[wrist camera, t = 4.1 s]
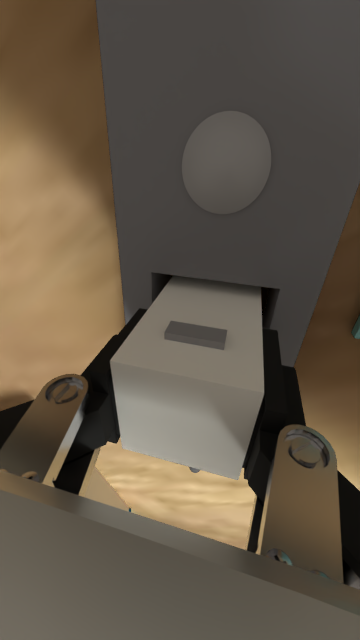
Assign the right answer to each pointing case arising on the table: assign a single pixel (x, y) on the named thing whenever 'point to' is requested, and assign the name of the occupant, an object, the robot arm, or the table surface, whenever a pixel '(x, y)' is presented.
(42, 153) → the table surface
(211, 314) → the charger plug
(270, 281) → the power strip
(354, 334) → the mat
